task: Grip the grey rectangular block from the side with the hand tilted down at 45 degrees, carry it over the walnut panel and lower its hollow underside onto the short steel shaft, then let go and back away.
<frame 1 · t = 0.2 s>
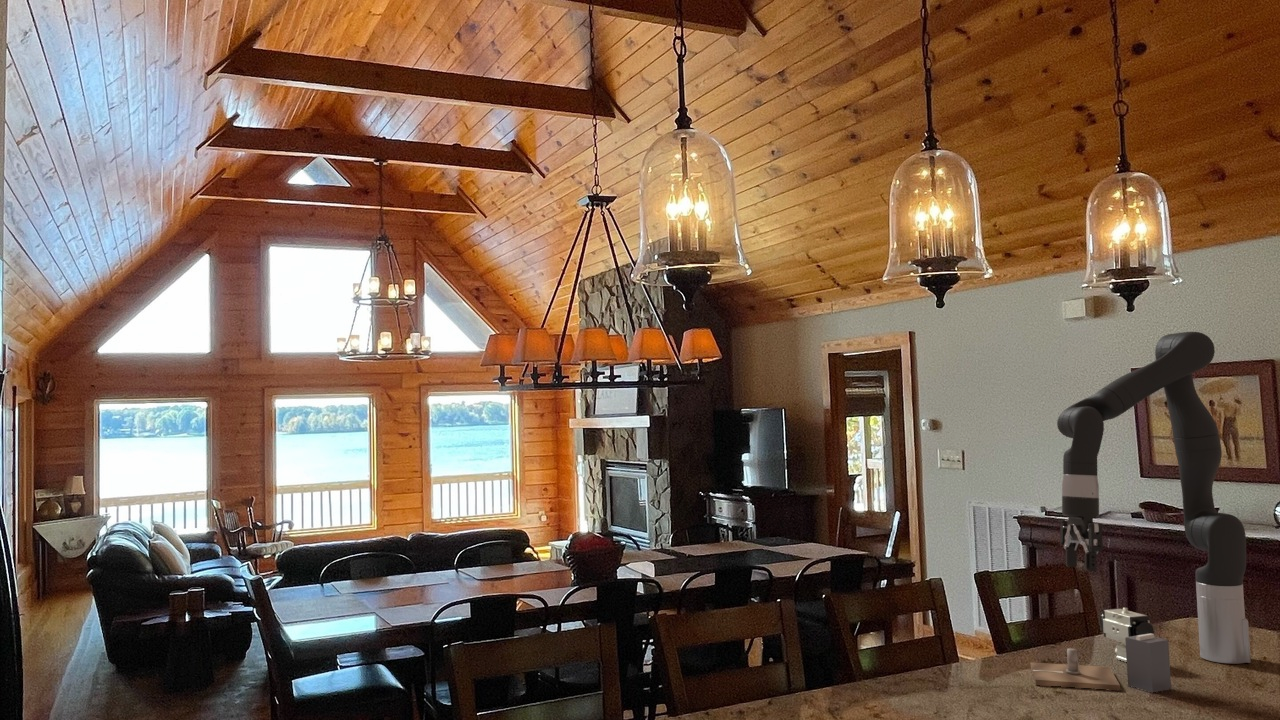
hand: (1080, 568, 206), 22 cm above the kitchen island, tool pointing down, fingers open, 8 cm apart
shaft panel: (1073, 678, 198), on the kitchen island
pneumatic valve: (1126, 662, 211), on the kitchen island
grey rectangular block: (1149, 687, 191), on the kitchen island
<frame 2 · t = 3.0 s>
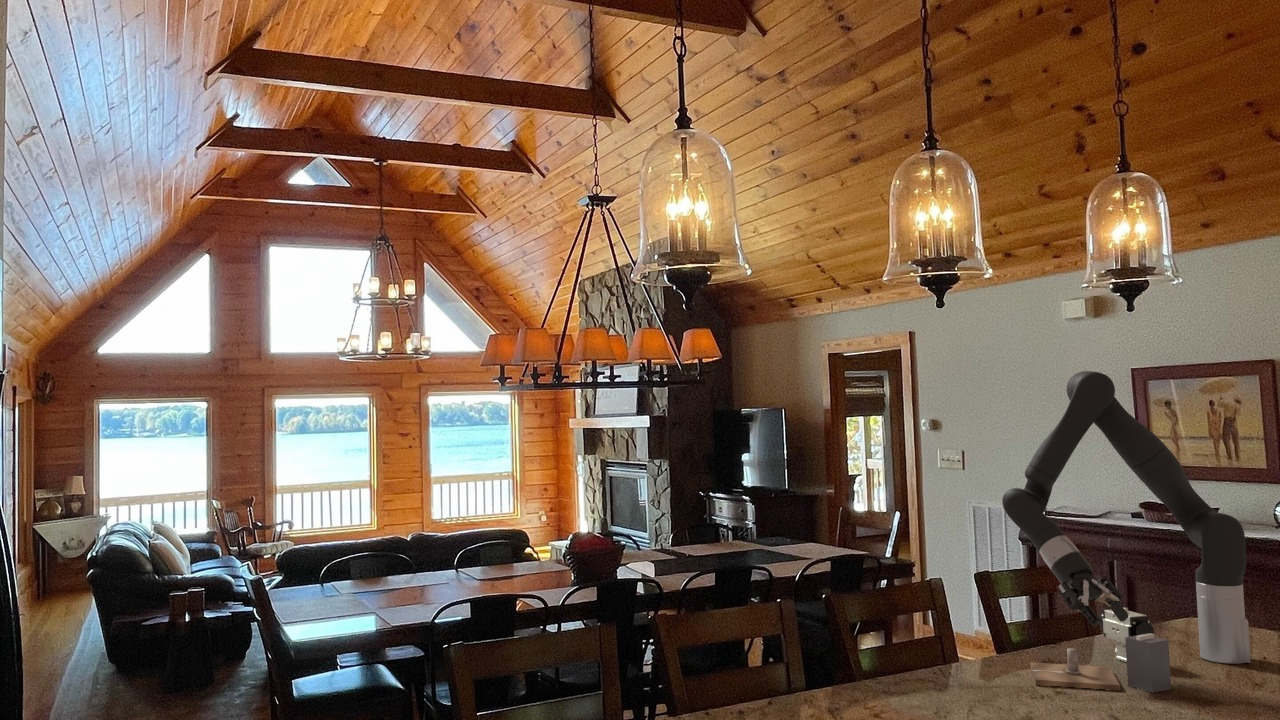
hand: (1111, 621, 199), 12 cm above the kitchen island, tool tilted 45°, fingers open, 8 cm apart
nothing on the kitchen island moved.
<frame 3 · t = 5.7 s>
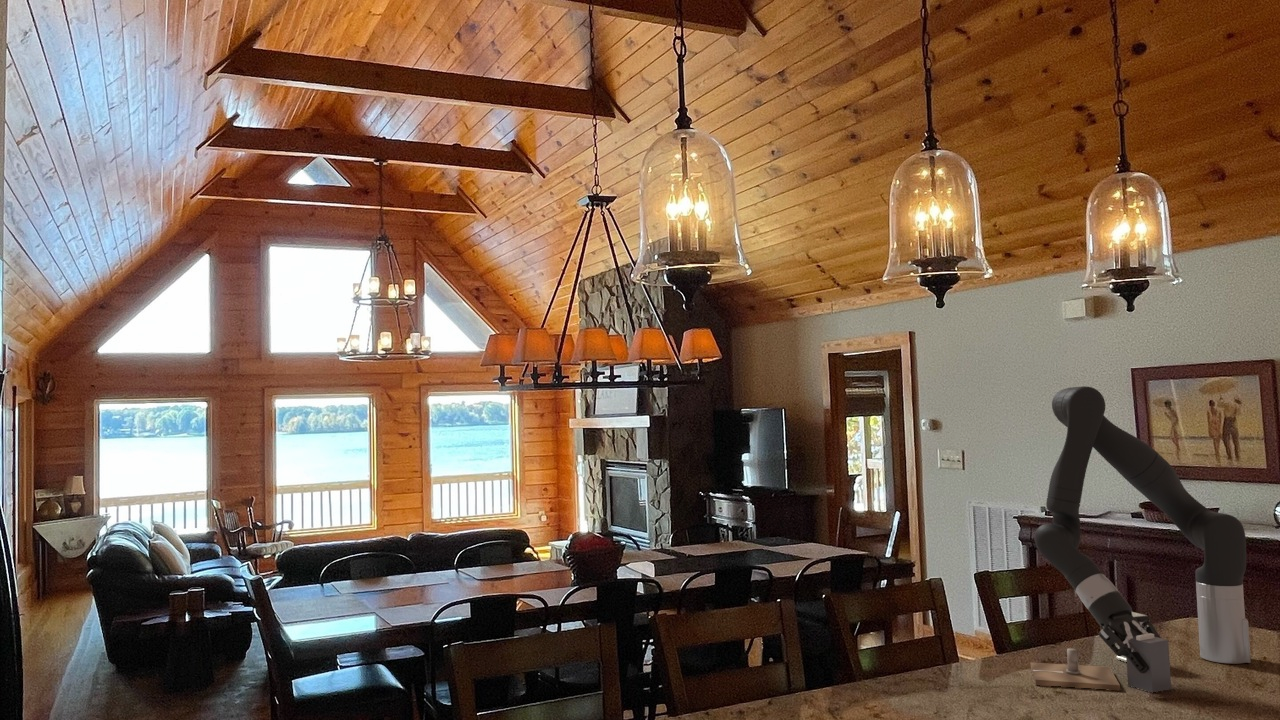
hand: (1156, 668, 189), 4 cm above the kitchen island, tool tilted 45°, fingers closed on grey rectangular block, 5 cm apart
grey rectangular block: (1149, 687, 191), on the kitchen island, touching gripper
everything else where it was.
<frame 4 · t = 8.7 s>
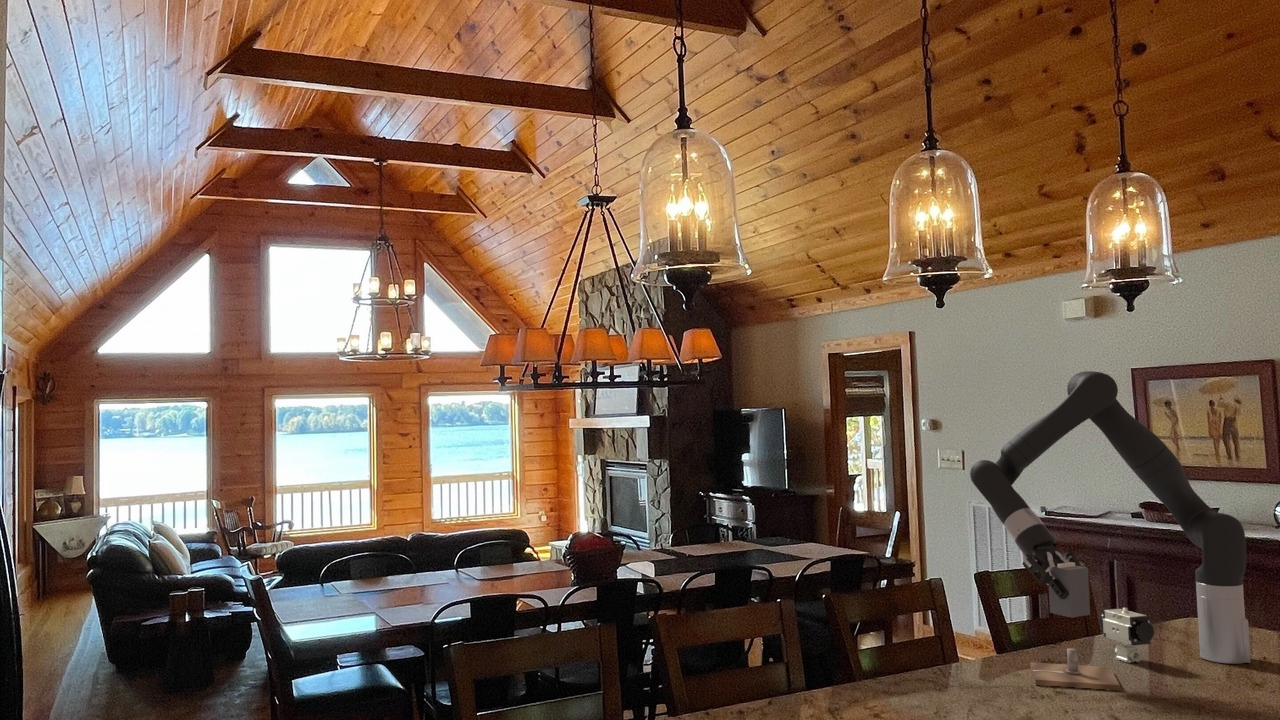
hand: (1075, 595, 198), 18 cm above the kitchen island, tool tilted 45°, fingers closed on grey rectangular block, 5 cm apart
grey rectangular block: (1069, 613, 199), point 14 cm above the kitchen island, touching gripper
everything else where it was.
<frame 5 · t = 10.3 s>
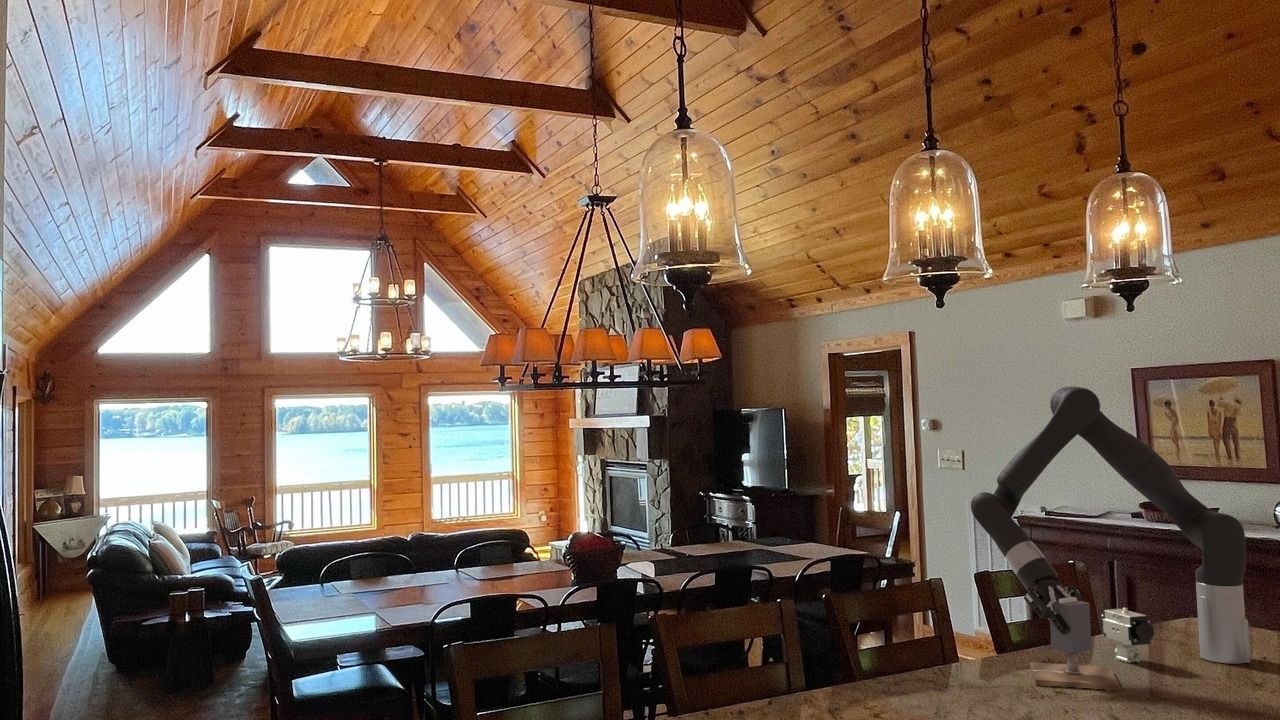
hand: (1077, 630, 197), 11 cm above the kitchen island, tool tilted 45°, fingers closed on grey rectangular block, 5 cm apart
grey rectangular block: (1071, 648, 199), point 6 cm above the kitchen island, touching gripper
everything else where it was.
when the fingers open (6 cm above the kitchen island, at t = 11.8 s): grey rectangular block stays where it is, resting on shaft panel.
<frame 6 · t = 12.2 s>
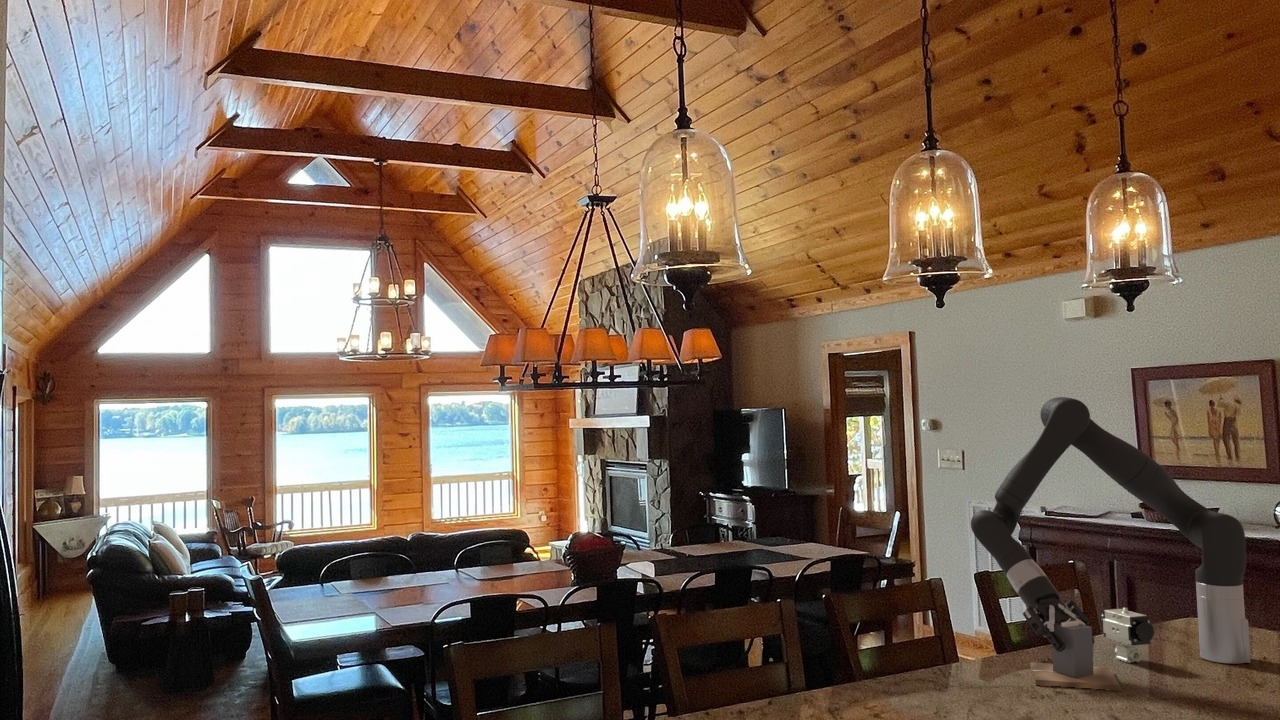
hand: (1077, 647, 197), 7 cm above the kitchen island, tool tilted 45°, fingers open, 8 cm apart
grey rectangular block: (1073, 672, 198), point 1 cm above the kitchen island, touching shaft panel
everything else where it was.
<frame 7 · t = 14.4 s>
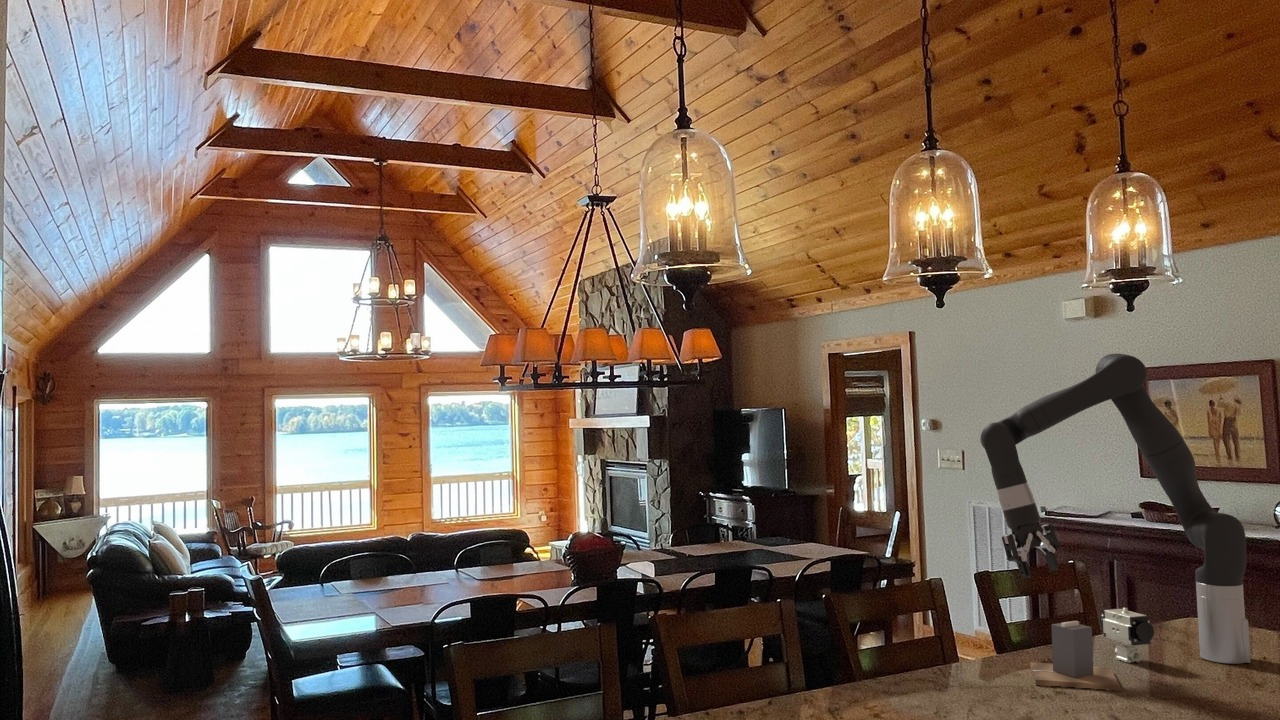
hand: (1041, 574, 214), 20 cm above the kitchen island, tool tilted 15°, fingers open, 8 cm apart
nothing on the kitchen island moved.
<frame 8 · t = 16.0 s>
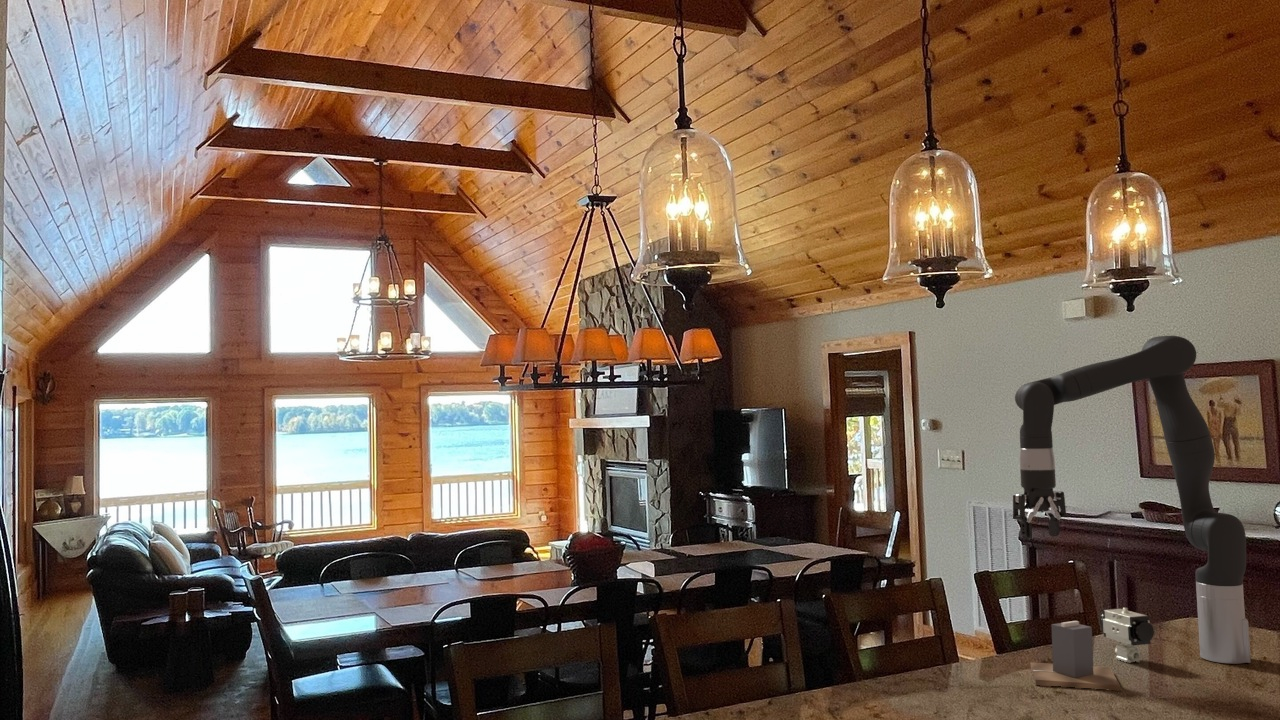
hand: (1040, 537, 215), 28 cm above the kitchen island, tool pointing down, fingers open, 8 cm apart
nothing on the kitchen island moved.
at the end: grey rectangular block 0.1 cm off-centre on the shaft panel, point 1.3 cm above the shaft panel's base; grey rectangular block tilted 1°; the gripper is holding nothing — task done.
